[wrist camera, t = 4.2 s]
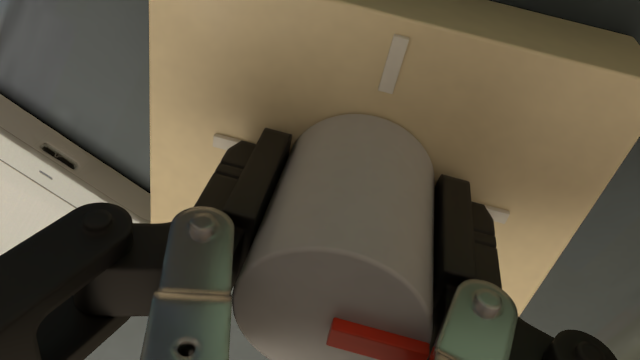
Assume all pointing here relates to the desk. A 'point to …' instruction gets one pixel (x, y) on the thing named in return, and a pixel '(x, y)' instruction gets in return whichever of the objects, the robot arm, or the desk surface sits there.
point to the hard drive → (52, 178)
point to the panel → (404, 101)
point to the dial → (344, 248)
